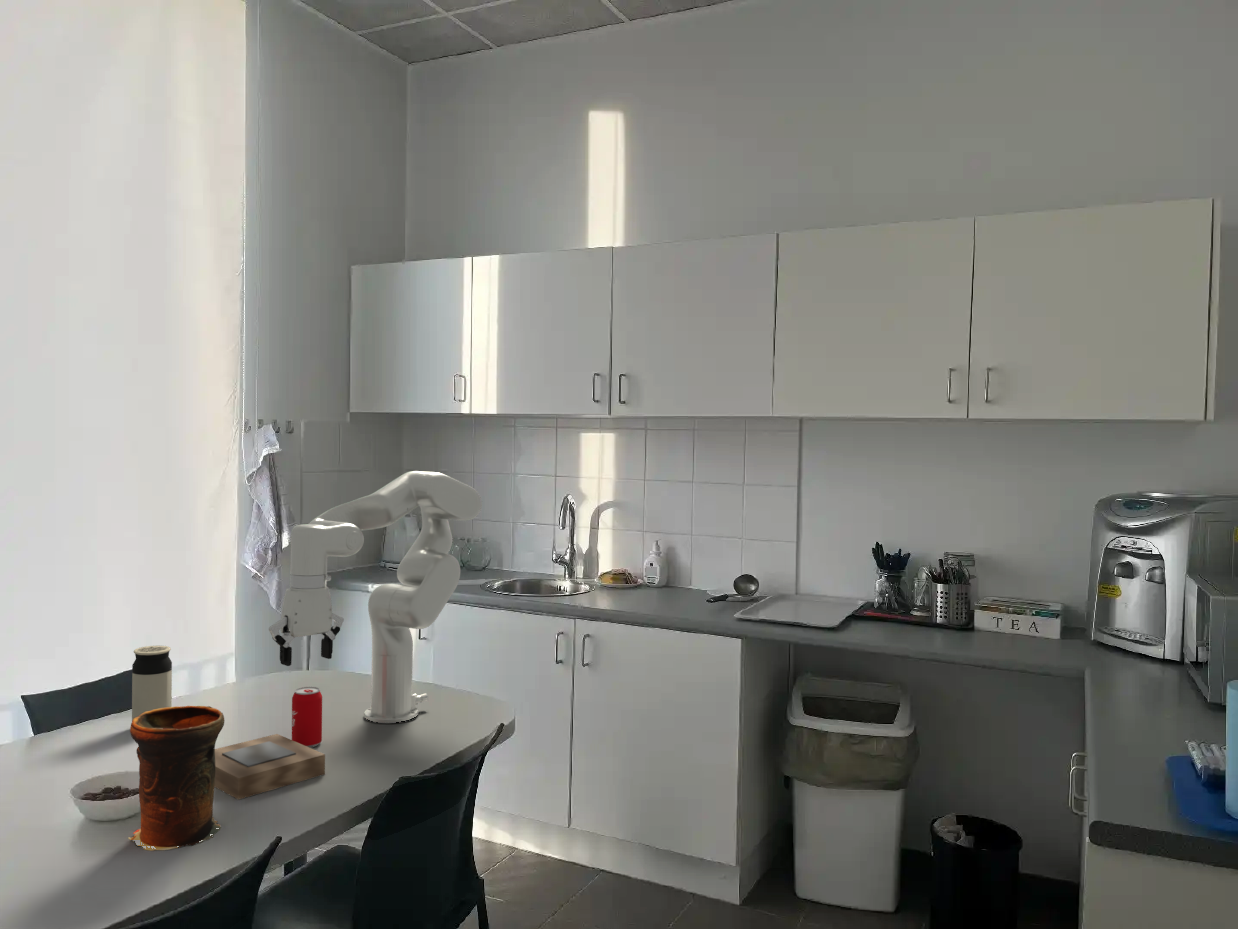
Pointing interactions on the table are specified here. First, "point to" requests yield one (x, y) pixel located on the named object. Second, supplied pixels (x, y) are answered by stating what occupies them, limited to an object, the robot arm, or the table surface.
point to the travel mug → (151, 679)
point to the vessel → (176, 775)
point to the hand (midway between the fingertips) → (306, 661)
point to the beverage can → (307, 716)
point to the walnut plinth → (265, 765)
